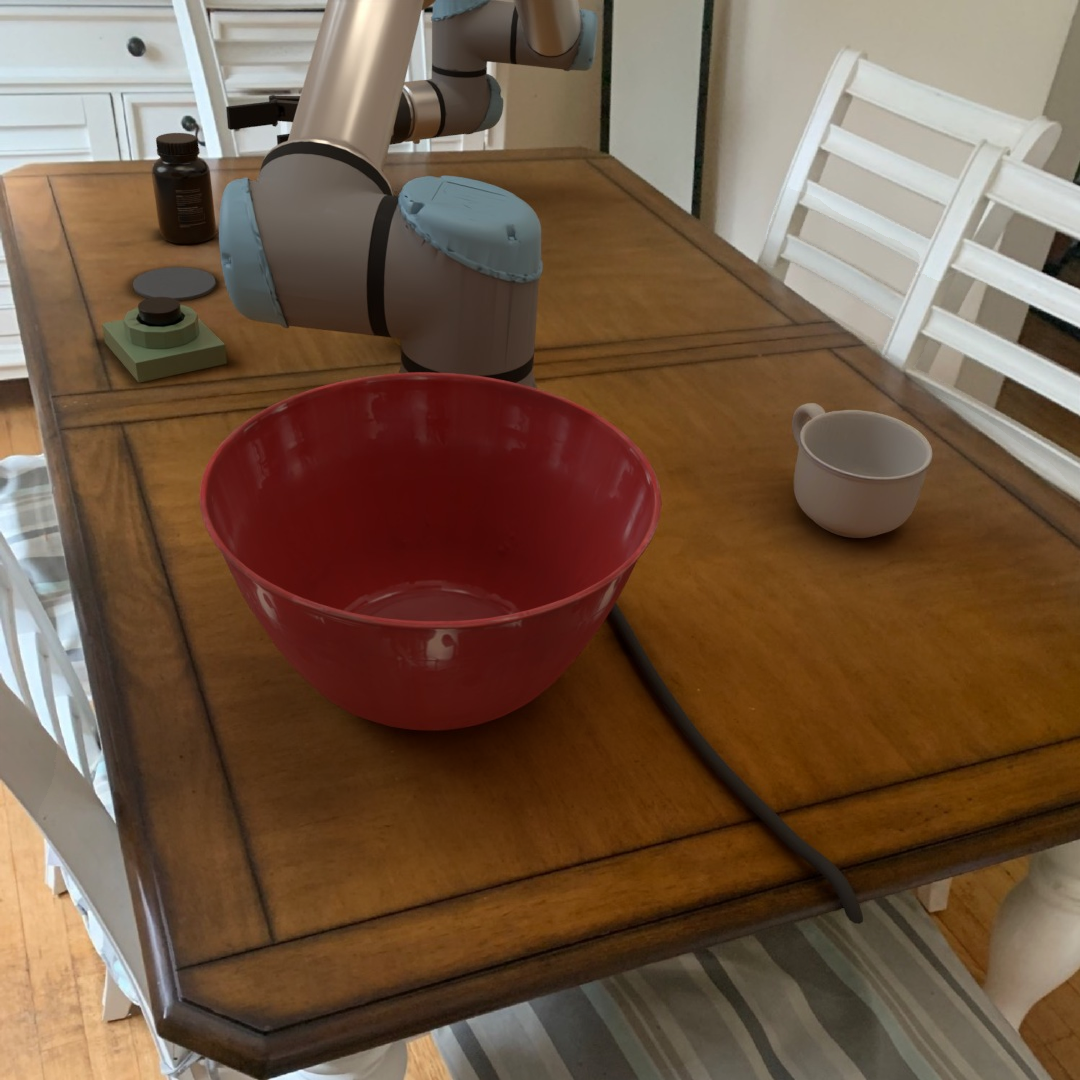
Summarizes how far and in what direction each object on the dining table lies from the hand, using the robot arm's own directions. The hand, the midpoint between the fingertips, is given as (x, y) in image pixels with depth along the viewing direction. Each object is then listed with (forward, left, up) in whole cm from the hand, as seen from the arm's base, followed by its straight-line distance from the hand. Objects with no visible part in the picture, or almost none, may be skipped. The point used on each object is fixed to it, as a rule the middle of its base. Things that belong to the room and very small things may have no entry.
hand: (252, 132), depth 140 cm
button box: (-31, +24, -11) cm, 40 cm away
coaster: (-15, +17, -11) cm, 25 cm away
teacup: (-86, -16, -12) cm, 88 cm away
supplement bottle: (-1, +10, -12) cm, 15 cm away
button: (-31, +24, -8) cm, 39 cm away
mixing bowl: (-85, +25, -12) cm, 89 cm away
